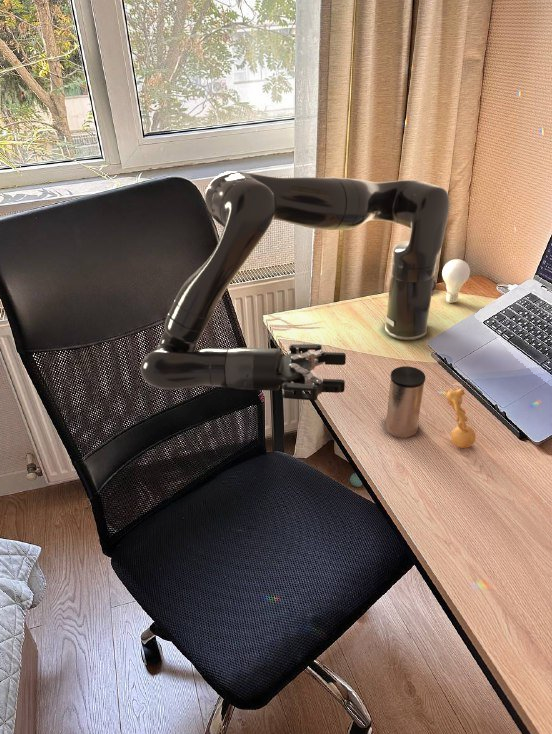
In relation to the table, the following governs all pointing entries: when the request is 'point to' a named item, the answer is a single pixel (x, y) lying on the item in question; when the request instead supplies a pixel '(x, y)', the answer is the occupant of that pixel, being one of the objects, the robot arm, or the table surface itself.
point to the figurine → (462, 433)
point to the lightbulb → (455, 277)
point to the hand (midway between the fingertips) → (345, 372)
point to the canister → (404, 401)
